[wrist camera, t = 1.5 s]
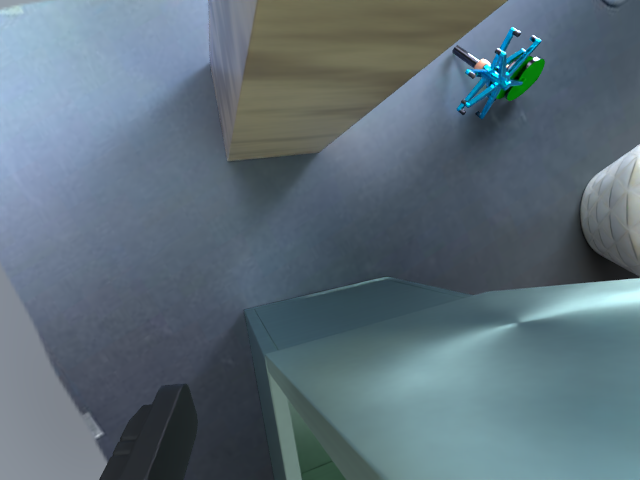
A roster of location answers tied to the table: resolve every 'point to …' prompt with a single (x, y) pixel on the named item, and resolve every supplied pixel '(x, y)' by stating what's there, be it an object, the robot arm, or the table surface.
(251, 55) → the stand
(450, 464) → the bin lid
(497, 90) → the stick construction toy
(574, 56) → the table surface
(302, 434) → the bin
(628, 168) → the vase
